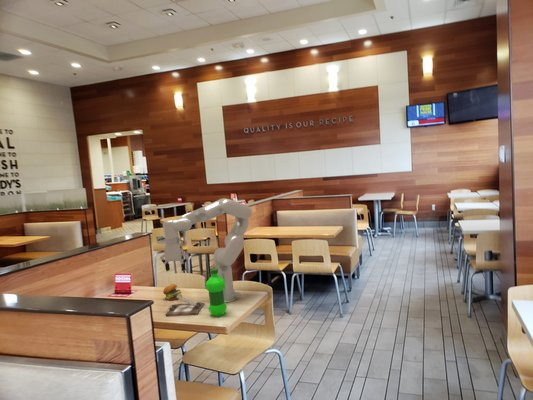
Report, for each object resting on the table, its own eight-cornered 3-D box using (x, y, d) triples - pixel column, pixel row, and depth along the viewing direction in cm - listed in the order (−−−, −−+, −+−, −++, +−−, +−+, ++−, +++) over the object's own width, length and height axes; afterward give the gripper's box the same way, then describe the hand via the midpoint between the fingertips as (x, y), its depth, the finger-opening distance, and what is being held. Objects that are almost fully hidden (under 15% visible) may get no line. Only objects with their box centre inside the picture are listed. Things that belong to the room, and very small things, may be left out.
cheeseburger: (179, 300, 241) (173, 285, 240) (164, 305, 243) (158, 290, 242) (185, 294, 251) (180, 280, 250) (170, 299, 253) (165, 284, 252)
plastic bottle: (207, 318, 207) (202, 272, 205) (211, 311, 217) (206, 267, 215) (226, 317, 206) (221, 271, 204) (228, 310, 217) (224, 266, 215)
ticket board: (204, 304, 230) (203, 299, 229) (197, 314, 214) (196, 308, 214) (174, 306, 231) (174, 300, 231) (165, 316, 215) (164, 310, 215)
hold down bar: (198, 306, 223) (198, 305, 223) (197, 307, 221) (197, 306, 221) (175, 295, 224) (175, 293, 223) (173, 296, 221) (174, 295, 221)
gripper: (189, 239, 223) (192, 268, 225) (161, 240, 227) (165, 269, 229) (183, 241, 216) (187, 271, 217) (155, 243, 220) (158, 272, 221)
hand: (175, 270), depth 223 cm, fingers open, 9 cm apart
